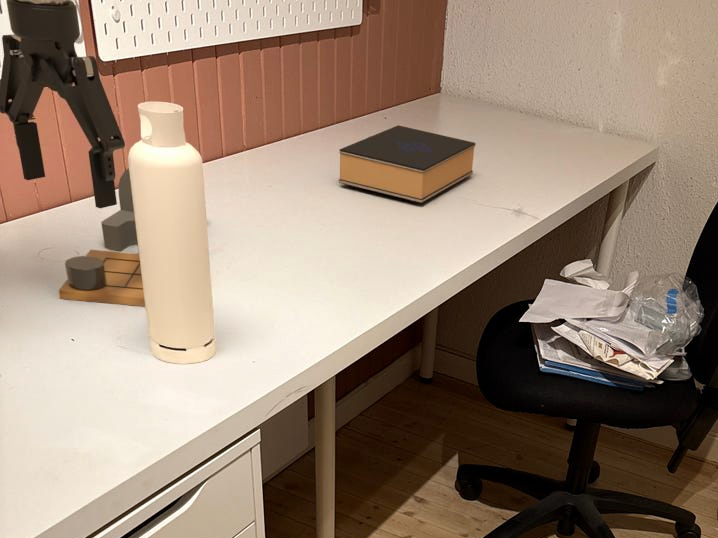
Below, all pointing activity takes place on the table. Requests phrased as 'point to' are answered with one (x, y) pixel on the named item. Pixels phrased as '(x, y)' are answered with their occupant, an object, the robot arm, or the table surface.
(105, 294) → the board
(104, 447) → the table surface
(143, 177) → the bottle
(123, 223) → the bracket
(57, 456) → the table surface
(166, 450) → the table surface
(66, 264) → the cylinder
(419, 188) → the book
